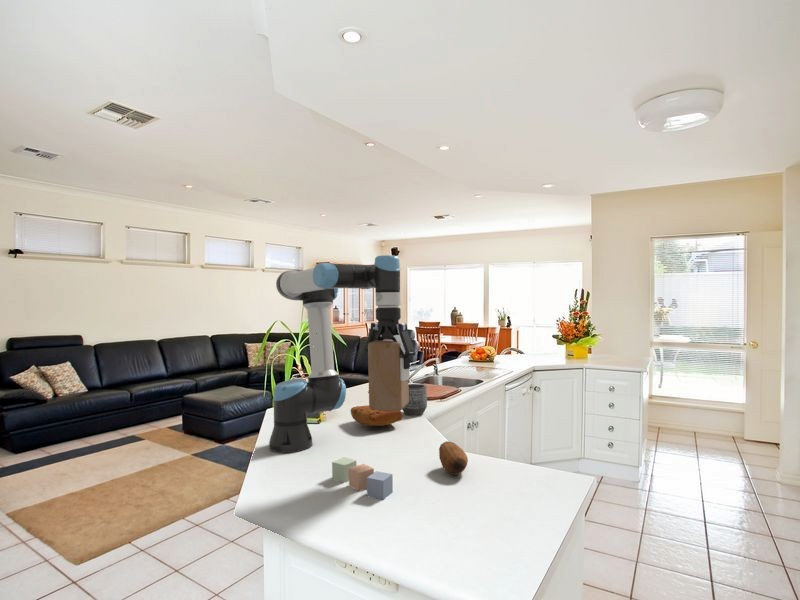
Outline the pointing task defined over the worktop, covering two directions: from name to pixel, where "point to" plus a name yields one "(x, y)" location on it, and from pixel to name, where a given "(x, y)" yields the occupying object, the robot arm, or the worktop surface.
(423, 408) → the planter
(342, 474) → the sage cube
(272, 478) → the worktop surface
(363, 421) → the bread loaf
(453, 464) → the potato
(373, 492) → the slate cube
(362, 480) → the terracotta cube
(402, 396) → the wooden block
